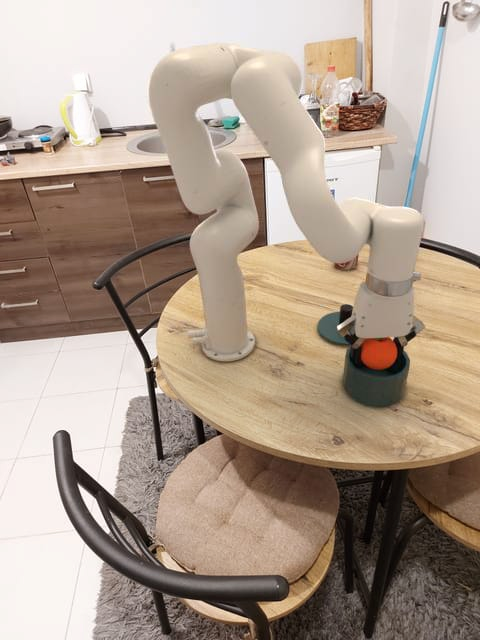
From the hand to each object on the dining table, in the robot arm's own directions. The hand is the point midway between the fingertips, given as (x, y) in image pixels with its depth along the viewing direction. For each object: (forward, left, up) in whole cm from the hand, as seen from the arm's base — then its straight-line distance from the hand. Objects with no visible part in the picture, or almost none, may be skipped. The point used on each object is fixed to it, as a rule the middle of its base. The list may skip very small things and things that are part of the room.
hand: (375, 358), depth 84 cm
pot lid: (-1, +19, -7) cm, 20 cm away
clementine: (0, 0, -1) cm, 1 cm away
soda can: (+5, +51, -7) cm, 52 cm away
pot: (0, 0, -7) cm, 7 cm away
